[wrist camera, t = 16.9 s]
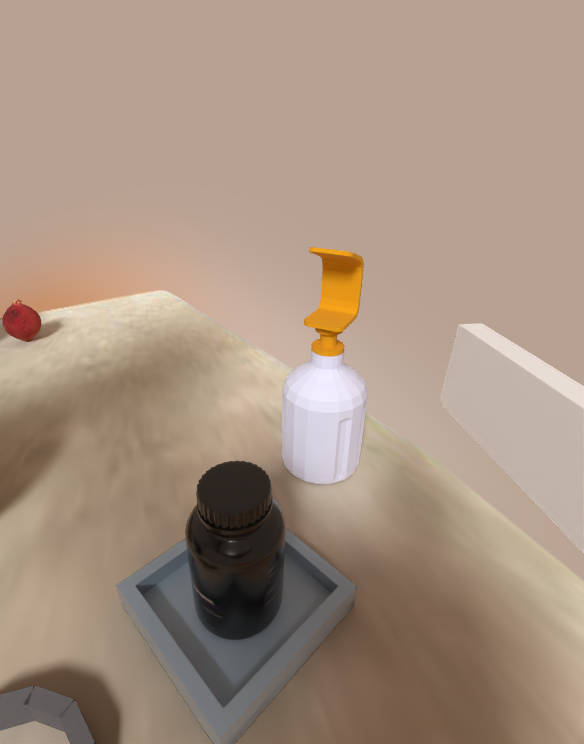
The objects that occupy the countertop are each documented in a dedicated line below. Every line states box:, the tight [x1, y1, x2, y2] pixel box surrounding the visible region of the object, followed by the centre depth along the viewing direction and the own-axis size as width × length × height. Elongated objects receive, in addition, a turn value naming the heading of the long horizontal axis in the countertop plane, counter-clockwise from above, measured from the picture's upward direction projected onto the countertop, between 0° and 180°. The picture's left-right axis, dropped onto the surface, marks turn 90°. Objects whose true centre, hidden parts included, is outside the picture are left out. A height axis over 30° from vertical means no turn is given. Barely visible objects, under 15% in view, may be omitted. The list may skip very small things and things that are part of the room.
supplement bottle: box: [185, 461, 285, 640], centre depth 29 cm, size 7×7×12 cm
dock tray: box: [116, 528, 357, 744], centre depth 31 cm, size 13×13×2 cm
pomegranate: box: [3, 299, 41, 341], centre depth 73 cm, size 6×6×8 cm
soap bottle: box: [282, 247, 368, 484], centre depth 42 cm, size 9×9×25 cm
